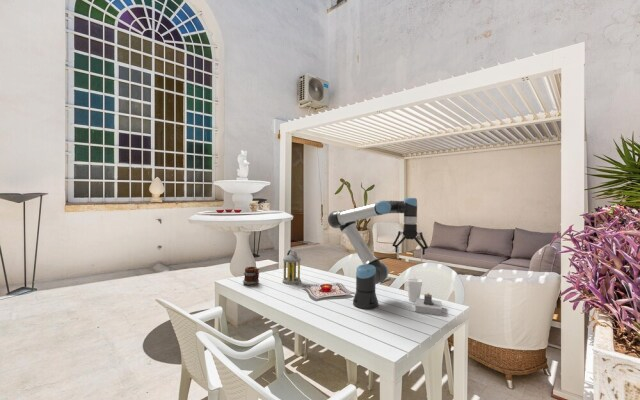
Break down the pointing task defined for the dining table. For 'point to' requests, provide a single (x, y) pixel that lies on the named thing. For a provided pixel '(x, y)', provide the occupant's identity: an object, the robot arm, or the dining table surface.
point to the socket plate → (428, 307)
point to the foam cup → (414, 288)
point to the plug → (427, 299)
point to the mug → (251, 276)
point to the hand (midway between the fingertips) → (409, 259)
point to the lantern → (291, 268)
